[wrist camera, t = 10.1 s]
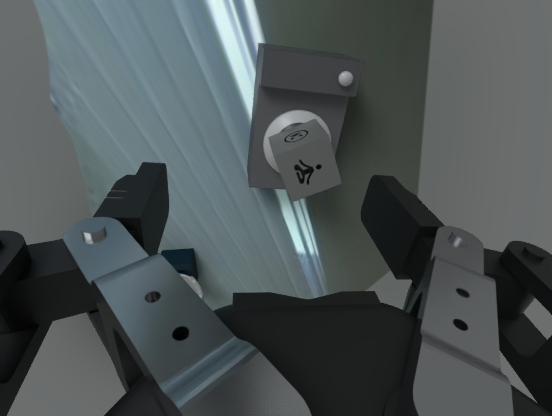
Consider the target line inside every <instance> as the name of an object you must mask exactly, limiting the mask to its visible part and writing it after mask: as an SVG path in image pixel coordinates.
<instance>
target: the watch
mask: <svg viewBox="0 0 552 416" xmlns="http://www.w3.org/2000/svg"><path fill="white" fill-rule="evenodd" d="M161 255H162V256H163V257H164V258H165V259H166V260H167V261H168V262H169V263H170V264H171V265H172V267H173V268H174V269H175V270H176V271H177V272H178V273H179V274H180V275H181V277H182V278H183V279H184V280H185V281H186V282H187V283H188V284H189V285H190V287H191V288H192V289H193V290H194V291H195V292H196V293H197V294H198V295H199V297H200V298H201V299H202V300H203V301H204V297H203V292H202V289H201V287H200V285H199V283H198V282H197V281H198V274H197V268H196V262H195V256H194V250H193V248H192V249H178V250H163V251H162V252H161Z"/></svg>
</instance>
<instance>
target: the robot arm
mask: <svg viewBox="0 0 552 416" xmlns="http://www.w3.org/2000/svg"><path fill="white" fill-rule="evenodd" d="M168 213H169V194H168V181H167V169H166V165H165V163H150V162H143V163H142V165H141V166H140V168H139V170H138V172H137V173H136V175H126V176H124V177H123V178H121V179H119V180H118V181H116V183H115V184H114V186H113V187H112V189H111V191H110V192H109V193H108V195H107V198H105V199H104V201H103V202H102V204H101V206H100V207H99V209H98V210H97V212H96V213H95V215H94V216H93V218H89V219H84V220H82V221H79V222H77V223H75V224H73V225H71V226H70V227H69V228H68V229H67V230H66V231H65V232H64V235H63V239H59V240H55V241H49V242H43V243H37V244H31V245H26V243H25V240H24V237H23V236H22V235H21V234H19V233H17V232H14V231H0V416H7V414H8V412H9V409H10V407H11V405H12V403H13V401H14V399H15V397H16V395H17V393H18V391H19V389H20V387H21V385H22V383H23V381H24V379H25V377H26V375H27V373H28V371H29V369H30V367H31V364H32V362H33V360H34V358H35V356H36V354H37V352H38V350H39V348H40V346H41V344H42V342H43V340H44V338H45V336H46V334H47V332H48V330H49V327H50V325H51V323H52V321H55V320H58V319H62V318H66V317H70V316H74V315H78V314H81V313H85V312H86V313H87V315H88V317H89V319H90V321H91V322H92V324H93V326H94V328H95V330H96V332H97V334H98V335H99V337H100V339H101V341H102V343H103V345H104V346H105V348H106V350H107V352H108V354H109V356H110V358H111V360H112V362H113V364H114V367H115V369H116V372H117V374H118V377H119V379H120V381H121V383H122V385H123V387H124V389H125V391H126V394H125V395H124V396H123V397H122V398H121V399H120V400H119V401H118V402H117V403H116V404H115V405H114V406H113V407H112V408H111V409H110V410H109V411H108V412H107V413H106V414H105V415H104V416H552V336H551V337H550V338H549V339H548V340H547V339H546V338H545V337H544V336H543V335H542V334H541V332H540V331H539V330H538V329H537V328H536V327H535V326H534V325H533V323H532V322H531V321H530V320H529V319H528V318H527V317H526V316H525V314H524V313H523V312H524V311H525V310H526V308H527V307H528V306H529V305H530V304H531V302H532V301H533V299H534V298H536V299H537V300H538V301H539V302H540V303H541V304H542V305H543V306H544V307H545V308H546V309H547V310H548V311H549V312H550V313H551V315H552V255H551V254H550V253H548V252H547V251H545V250H543V249H541V248H539V247H537V246H535V245H532V244H530V243H526V242H522V241H512V242H510V243H509V244H508V245H507V247H506V248H505V250H504V251H503V252H498V251H494V250H489V249H485V248H484V247H483V244H482V242H481V241H480V240H479V239H478V238H477V237H476V236H474V235H473V234H471V233H469V232H467V231H465V230H463V229H460V228H456V227H452V226H445V225H444V224H443V223H442V222H441V221H440V220H439V219H438V218H437V217H436V216H435V215H434V214H433V213H432V212H431V211H430V210H428V208H427V207H426V206H425V205H424V204H422V202H421V201H420V200H419V199H418V197H417V196H416V195H414V194H413V193H411V192H409V191H408V190H406V189H405V188H404V187H403V186H402V185H401V184H400V183H399V182H398V181H397V179H396V178H395V177H393V176H382V175H374V176H373V177H372V178H371V180H370V182H369V185H368V189H367V192H366V195H365V198H364V201H363V205H362V208H361V220H362V223H363V225H364V226H365V228H366V230H367V231H368V233H369V235H370V236H371V238H372V240H373V241H374V243H375V245H376V246H377V248H378V250H379V251H380V253H381V255H382V256H383V258H384V260H385V261H386V263H387V264H388V266H389V268H390V269H391V271H392V272H393V274H394V276H395V278H396V279H411V280H412V283H411V285H410V287H409V290H408V293H407V296H406V300H405V303H404V307H403V310H401V309H399V308H396V307H394V306H391V305H388V304H384V303H380V301H379V299H378V297H377V295H376V293H375V291H353V292H338V293H334V294H330V295H326V296H322V297H318V298H314V299H302V298H296V297H291V296H286V295H281V294H276V293H270V292H264V293H233V304H232V305H228V306H225V307H222V308H219V309H217V310H214V311H212V310H211V309H210V308H209V306H208V305H207V304H206V303H205V302H204V301H203V300H202V299H201V298H200V297H199V295H198V294H197V293H196V292H195V291H194V290H193V289H192V288H191V287H190V285H189V284H188V283H187V282H186V281H185V280H184V279H183V278H182V277H181V275H180V274H179V273H178V272H177V271H176V270H175V269H174V268H173V267H172V265H171V264H170V263H169V262H168V261H167V260H166V259H165V258H164V257H163V256H162V255H161V254H159V253H157V251H158V248H159V245H160V241H161V238H162V235H163V231H164V228H165V225H166V221H167V218H168ZM499 350H500V351H501V353H502V354H503V355H504V357H505V358H506V360H507V361H508V362H509V364H510V365H511V366H512V368H513V369H514V371H515V372H516V373H517V375H518V376H519V378H520V379H521V380H522V382H523V383H524V384H525V386H526V387H527V389H528V390H529V392H530V393H531V394H532V396H533V397H534V399H535V400H536V401H537V403H536V402H535V401H533V400H532V399H531V398H529V397H528V396H526V395H525V394H523V393H522V392H520V391H519V390H518V389H516V388H515V387H514V386H512V385H511V384H510V381H509V379H508V378H507V376H505V375H503V373H502V372H501V367H500V353H499Z"/></svg>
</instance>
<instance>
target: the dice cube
mask: <svg viewBox="0 0 552 416" xmlns="http://www.w3.org/2000/svg"><path fill="white" fill-rule="evenodd" d="M268 139H269V143H270V146H271V150H272V153H273V156H274V159H275V161H276V164H277V167H278V169H279V172H280V174H281V177H282V179H283V182H284V184H285V187H286V189H287V192H288V194H289V197H290V199H291V202H294V201H297V200H299V199H302V198H305V197H307V196H310V195H313V194H315V193H318V192H321V191H323V190H326V189H329V188H331V187H334V186H337V185H339V184H342V181H341V178H340V174H339V170H338V167H337V163H336V160H335V156H334V152H333V149H332V145H331V142H330V138H329V135H328V134H327V132H326V131H325V130H324V129H323V127H322V126H321V125H320V124H319V122H318V121H317V120H316V119H313V120H310V121H308V122H305V123H303V124H300V125H298V126H295V127H293V128H290V129H288V130H285V131H282V132H280V133H277V134H275V135H272V136H270V137H268Z"/></svg>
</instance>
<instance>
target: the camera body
mask: <svg viewBox="0 0 552 416" xmlns="http://www.w3.org/2000/svg"><path fill="white" fill-rule="evenodd" d="M363 66H364V62H363V61H360V60H357V59H354V58H351V57H348V56H345V55H342V54H335V53H328V52H321V51H314V50H307V49H299V48H292V47H285V46H278V45H271V44H264V43H259V44H258V55H257V66H256V77H255V88H254V99H253V110H252V121H251V132H250V143H249V154H248V165H247V172H248V182H249V187H255V188H272V189H286V187H285V184H284V182H283V179H282V177H281V174H280V172H279V169H278V167H277V164H276V161H275V159H274V156H273V153H272V150H271V146H270V143H269V139H268V137H270V136H272V135H275V134H277V133H280V132H282V131H285V130H288V129H290V128H293V127H295V126H298V125H300V124H303V123H305V122H308V121H310V120H313V119H316V120H317V121H318V122H319V124H320V125H321V126H322V127H323V129H324V130H325V131H326V132H327V134H328V135H329V138H330V142H331V145H332V149H333V152H334V156H335V154H336V150H337V146H338V142H339V138H340V134H341V129H342V125H343V121H344V117H345V113H346V109H347V105H348V100H349V96H351V97H356V94H357V90H358V86H359V82H360V78H361V74H362V70H363ZM326 191H327V189H326V190H323V191H321V192H326Z"/></svg>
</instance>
